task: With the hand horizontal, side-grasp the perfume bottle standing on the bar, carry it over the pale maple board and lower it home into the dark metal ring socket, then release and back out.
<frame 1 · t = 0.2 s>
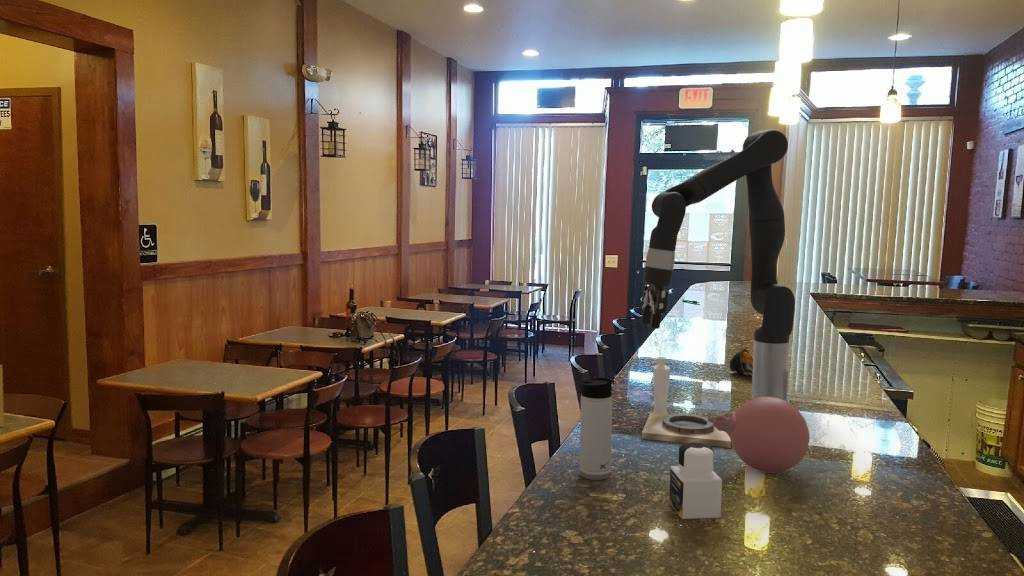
hand: (649, 325, 186), 22 cm above the table, tool pointing down, fingers open, 8 cm apart
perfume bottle: (660, 413, 183), on the table
hub board: (687, 431, 167), on the table
balloon: (755, 469, 144), on the table
black and orange lump: (754, 378, 222), on the table
medicine bottle: (694, 511, 123), on the table
travel mug: (595, 475, 140), on the table
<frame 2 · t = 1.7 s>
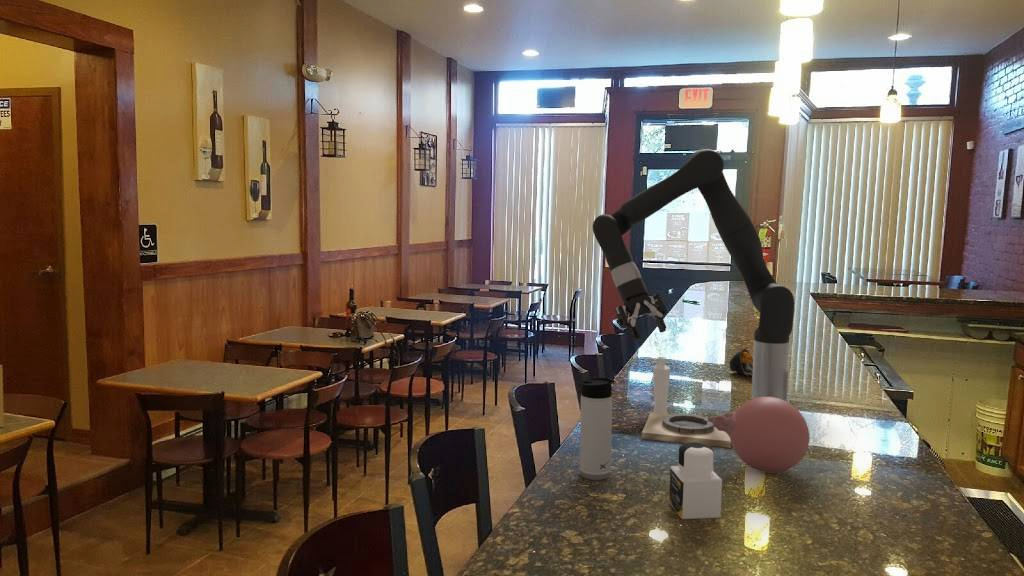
hand: (651, 335, 188), 19 cm above the table, tool tilted 25°, fingers open, 8 cm apart
nothing on the table moved.
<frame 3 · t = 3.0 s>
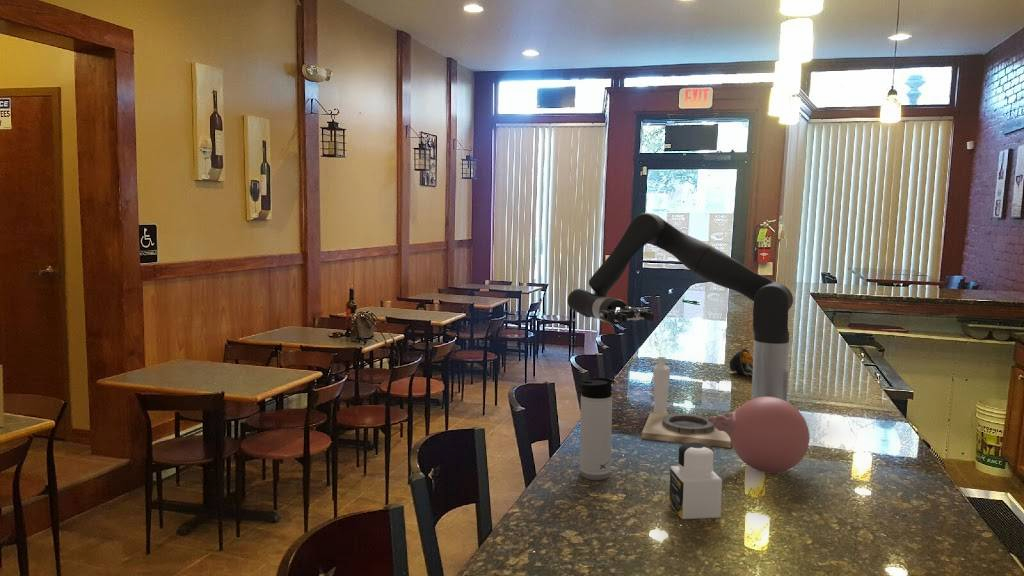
hand: (639, 318, 190), 24 cm above the table, tool horizontal, fingers open, 8 cm apart
nothing on the table moved.
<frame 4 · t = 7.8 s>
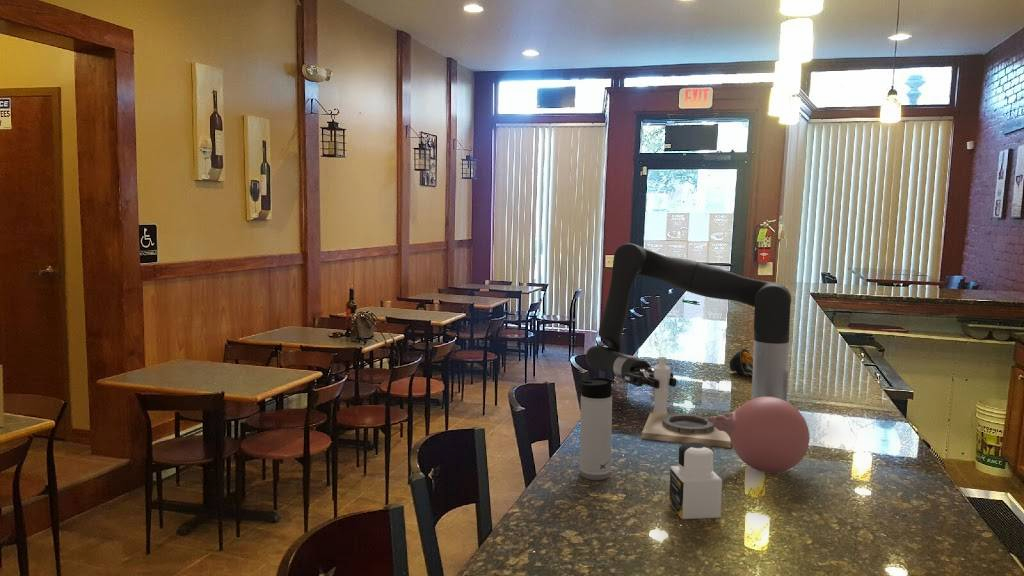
hand: (666, 383, 179), 9 cm above the table, tool horizontal, fingers closed on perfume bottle, 4 cm apart
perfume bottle: (660, 413, 183), on the table, touching gripper
everything else where it was.
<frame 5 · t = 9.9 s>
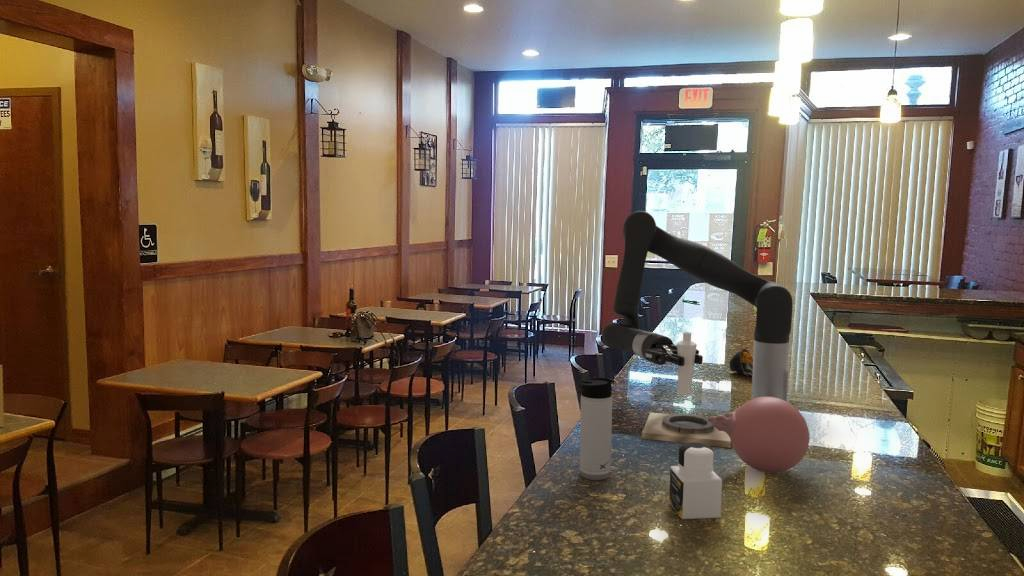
hand: (692, 361, 164), 18 cm above the table, tool horizontal, fingers closed on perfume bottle, 4 cm apart
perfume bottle: (684, 393, 168), point 9 cm above the table, touching gripper
everything else where it was.
when the fingers open (11 cm above the table, at t = 12.0 s): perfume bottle moves 1 cm, resting on hub board.
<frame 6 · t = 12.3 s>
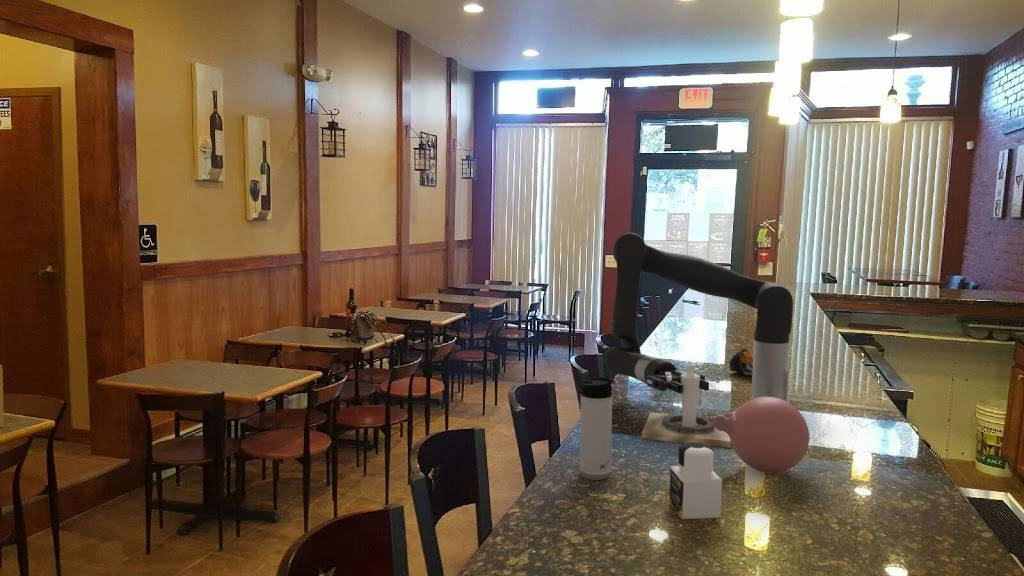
hand: (694, 387, 164), 11 cm above the table, tool horizontal, fingers open, 7 cm apart
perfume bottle: (688, 426, 167), point 1 cm above the table, touching hub board
everything else where it was.
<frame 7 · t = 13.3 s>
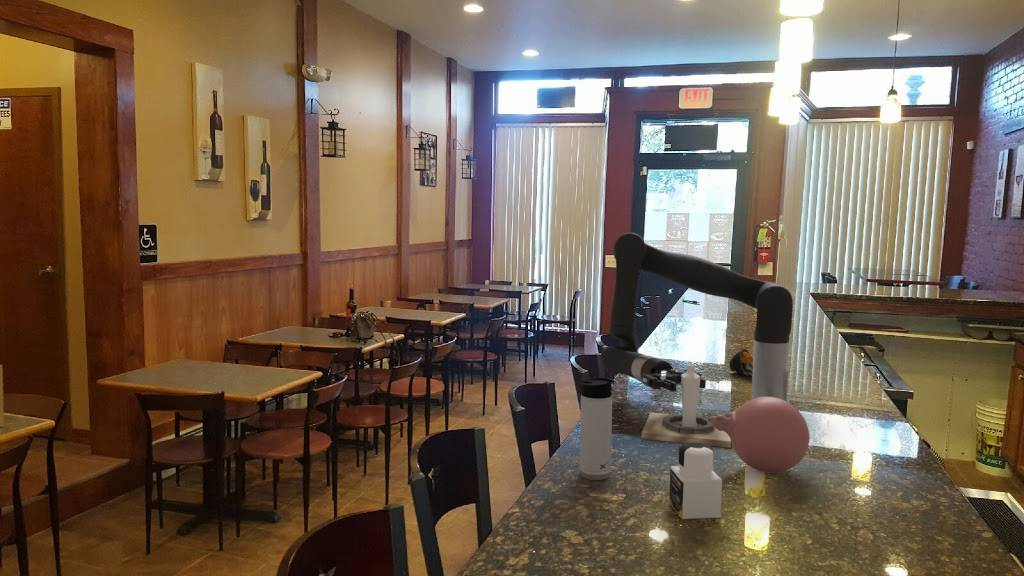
hand: (690, 386, 166), 11 cm above the table, tool horizontal, fingers open, 8 cm apart
nothing on the table moved.
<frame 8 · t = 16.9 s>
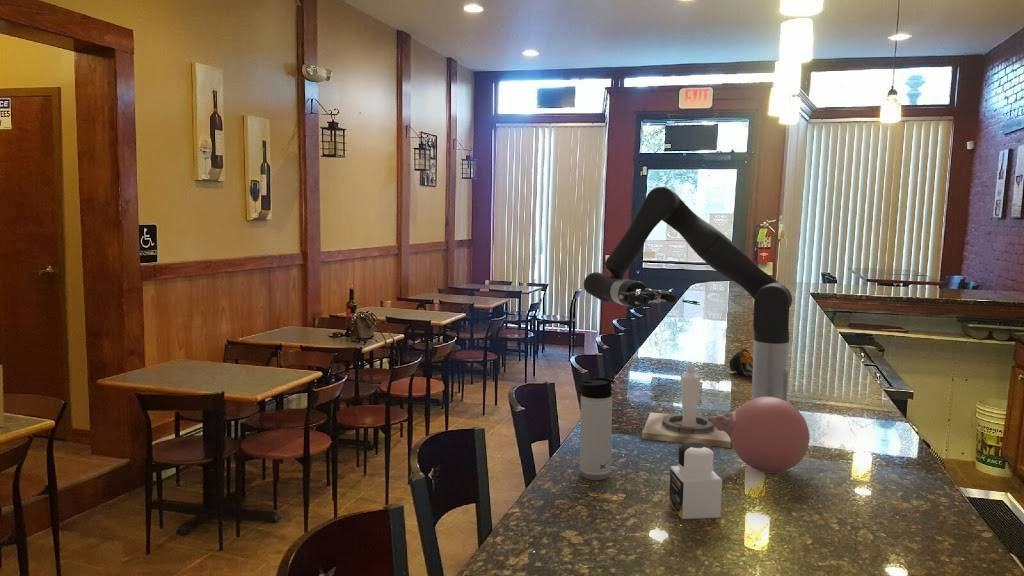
hand: (661, 299, 182), 30 cm above the table, tool horizontal, fingers open, 8 cm apart
nothing on the table moved.
at the end: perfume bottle 0.3 cm from the hub board (horizontally); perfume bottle tilted 0°; the gripper is holding nothing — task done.
